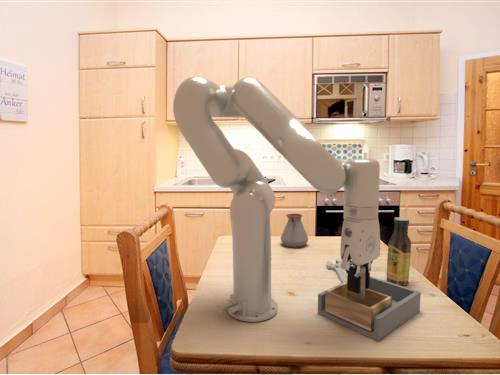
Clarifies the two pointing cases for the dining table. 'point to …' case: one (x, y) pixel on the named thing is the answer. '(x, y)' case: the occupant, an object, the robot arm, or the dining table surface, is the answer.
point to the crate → (357, 303)
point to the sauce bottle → (399, 253)
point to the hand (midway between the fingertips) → (358, 288)
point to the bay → (390, 319)
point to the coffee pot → (294, 232)
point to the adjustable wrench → (337, 270)
